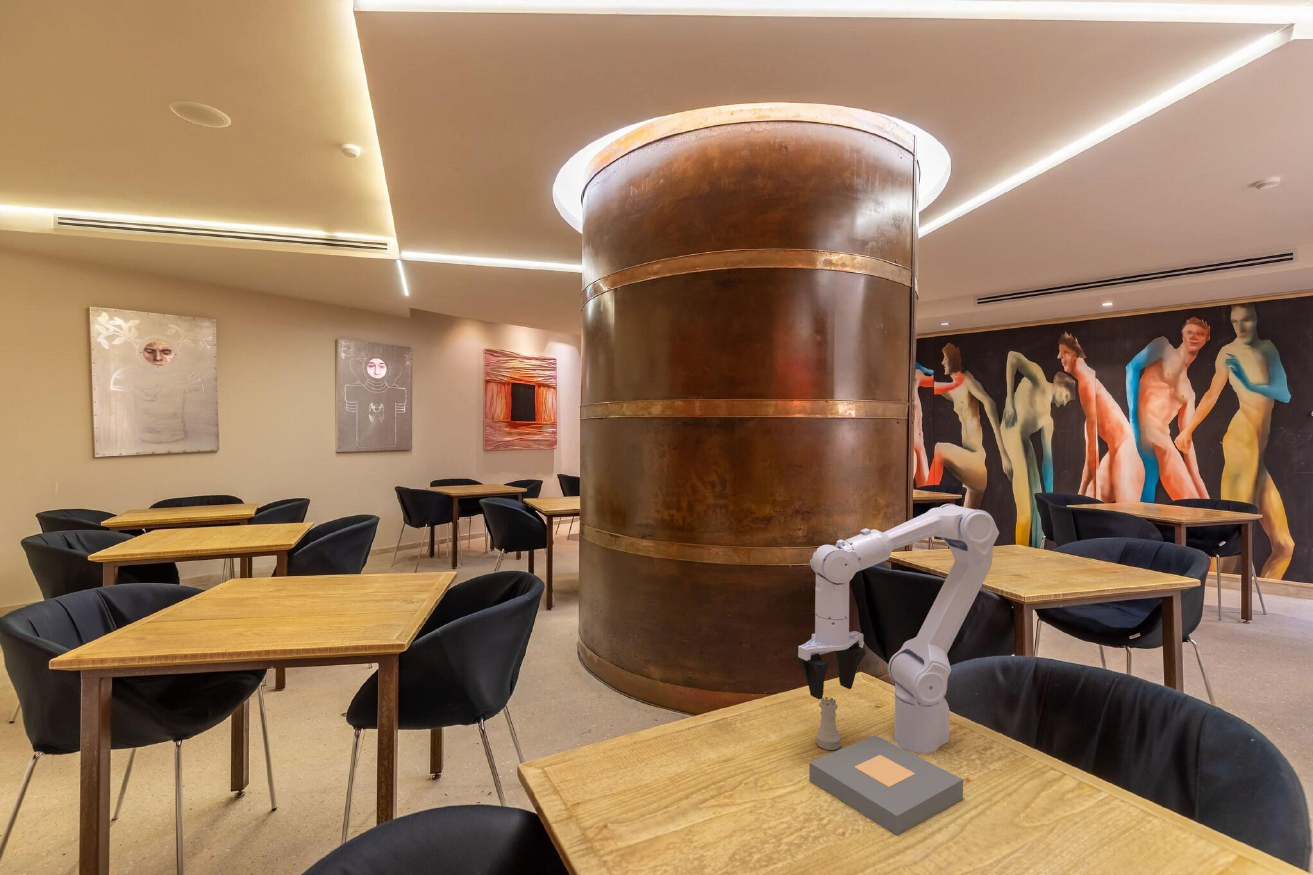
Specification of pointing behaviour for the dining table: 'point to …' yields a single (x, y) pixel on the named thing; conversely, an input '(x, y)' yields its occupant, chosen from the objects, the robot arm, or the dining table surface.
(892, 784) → the grey flat square slab
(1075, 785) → the dining table surface
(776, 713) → the dining table surface
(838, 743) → the rook chess piece
